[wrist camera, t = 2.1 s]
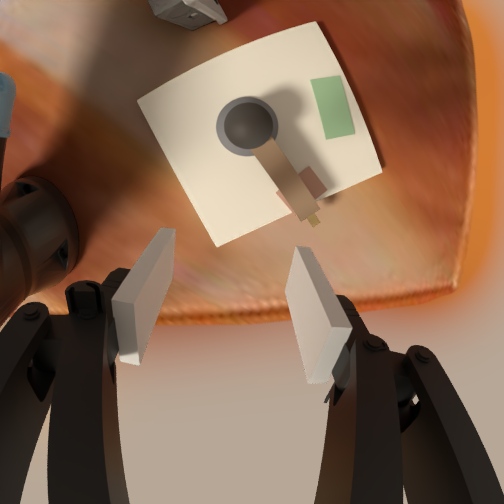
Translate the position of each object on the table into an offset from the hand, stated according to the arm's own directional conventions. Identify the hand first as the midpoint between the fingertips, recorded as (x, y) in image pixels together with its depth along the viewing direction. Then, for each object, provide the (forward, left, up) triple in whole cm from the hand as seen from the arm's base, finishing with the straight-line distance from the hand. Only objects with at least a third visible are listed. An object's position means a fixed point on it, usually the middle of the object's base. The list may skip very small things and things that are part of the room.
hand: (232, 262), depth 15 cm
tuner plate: (+6, +5, -17) cm, 18 cm away
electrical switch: (+5, +22, -17) cm, 28 cm away
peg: (+5, +1, -15) cm, 16 cm away
